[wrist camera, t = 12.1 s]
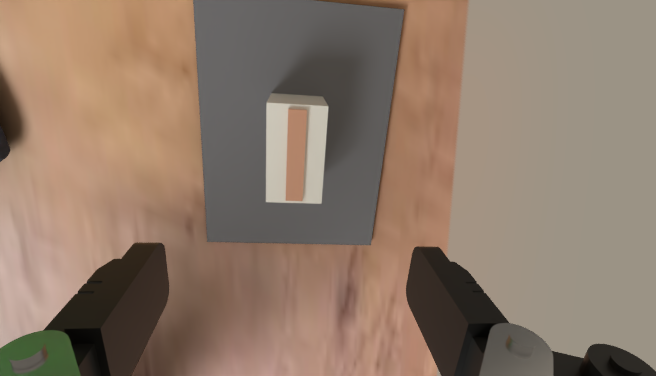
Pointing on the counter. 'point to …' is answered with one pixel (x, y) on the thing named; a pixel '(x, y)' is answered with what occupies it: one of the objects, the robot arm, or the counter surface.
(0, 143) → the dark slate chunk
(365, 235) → the rubber mat
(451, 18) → the counter surface
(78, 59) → the counter surface
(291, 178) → the block
